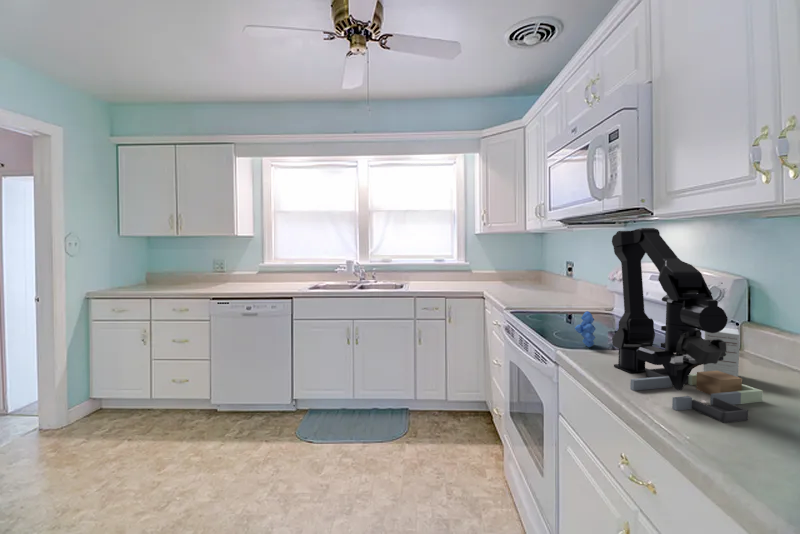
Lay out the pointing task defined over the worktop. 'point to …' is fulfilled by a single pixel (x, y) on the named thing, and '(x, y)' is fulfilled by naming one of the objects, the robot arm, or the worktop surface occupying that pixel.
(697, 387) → the walnut block
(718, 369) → the supplement box
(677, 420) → the worktop surface
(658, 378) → the box
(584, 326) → the grapes
